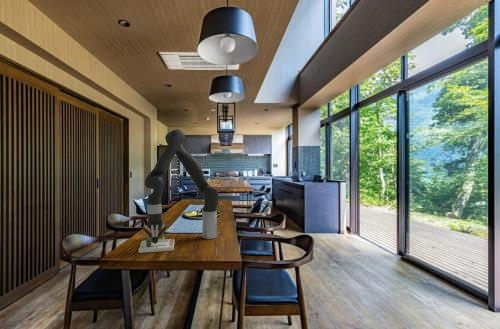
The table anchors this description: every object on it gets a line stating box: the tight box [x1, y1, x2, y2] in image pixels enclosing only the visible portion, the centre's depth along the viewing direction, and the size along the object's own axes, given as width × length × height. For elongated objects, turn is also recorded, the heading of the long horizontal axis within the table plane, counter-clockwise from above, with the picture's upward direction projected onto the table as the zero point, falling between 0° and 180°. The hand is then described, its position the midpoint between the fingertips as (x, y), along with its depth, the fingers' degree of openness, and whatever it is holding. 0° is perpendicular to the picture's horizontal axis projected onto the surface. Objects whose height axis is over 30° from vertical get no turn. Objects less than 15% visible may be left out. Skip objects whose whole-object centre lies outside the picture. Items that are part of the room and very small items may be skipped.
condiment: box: [155, 218, 166, 240], centre depth 167 cm, size 7×8×12 cm
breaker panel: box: [138, 238, 175, 254], centre depth 148 cm, size 18×16×2 cm
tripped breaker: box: [145, 237, 151, 247], centre depth 143 cm, size 2×2×4 cm
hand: (155, 243), depth 144 cm, fingers closed
